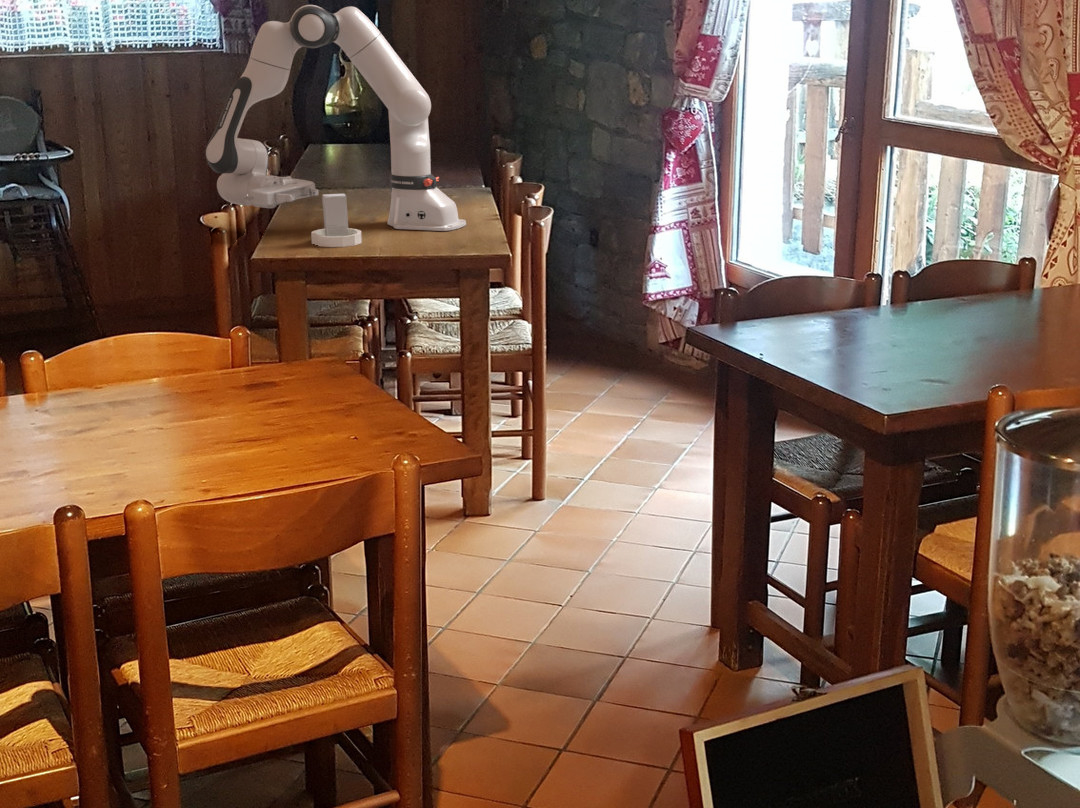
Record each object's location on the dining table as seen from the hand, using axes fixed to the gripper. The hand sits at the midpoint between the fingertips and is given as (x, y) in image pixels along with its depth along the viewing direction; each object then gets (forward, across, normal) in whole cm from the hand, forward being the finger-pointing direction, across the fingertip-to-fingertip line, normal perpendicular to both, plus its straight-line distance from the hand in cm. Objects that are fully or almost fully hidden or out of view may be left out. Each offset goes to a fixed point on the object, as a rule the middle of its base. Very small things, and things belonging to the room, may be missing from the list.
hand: (305, 195), depth 329 cm
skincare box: (+11, -1, +11) cm, 16 cm away
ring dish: (+11, 0, +11) cm, 16 cm away
